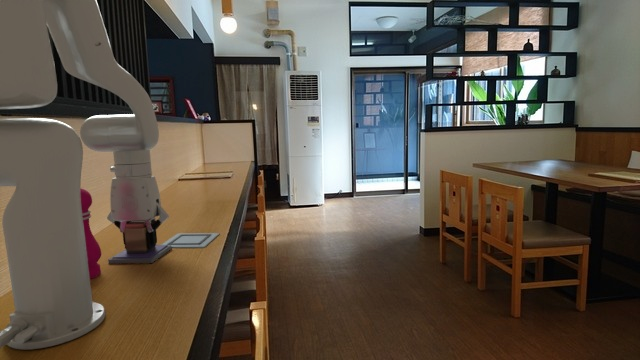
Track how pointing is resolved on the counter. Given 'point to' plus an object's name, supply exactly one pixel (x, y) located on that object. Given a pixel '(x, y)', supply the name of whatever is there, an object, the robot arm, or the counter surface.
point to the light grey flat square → (191, 240)
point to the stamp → (136, 238)
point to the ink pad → (140, 256)
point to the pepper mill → (90, 236)
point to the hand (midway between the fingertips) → (140, 246)
